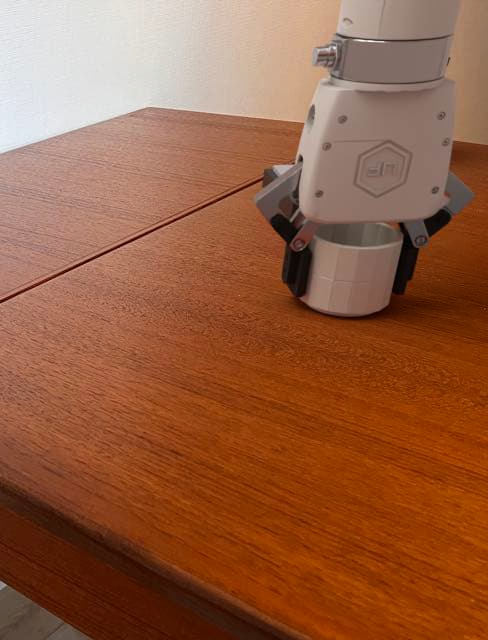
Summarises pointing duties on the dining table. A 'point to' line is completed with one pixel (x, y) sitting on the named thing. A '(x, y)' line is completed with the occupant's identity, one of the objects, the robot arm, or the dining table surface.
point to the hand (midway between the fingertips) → (343, 288)
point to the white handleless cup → (352, 268)
